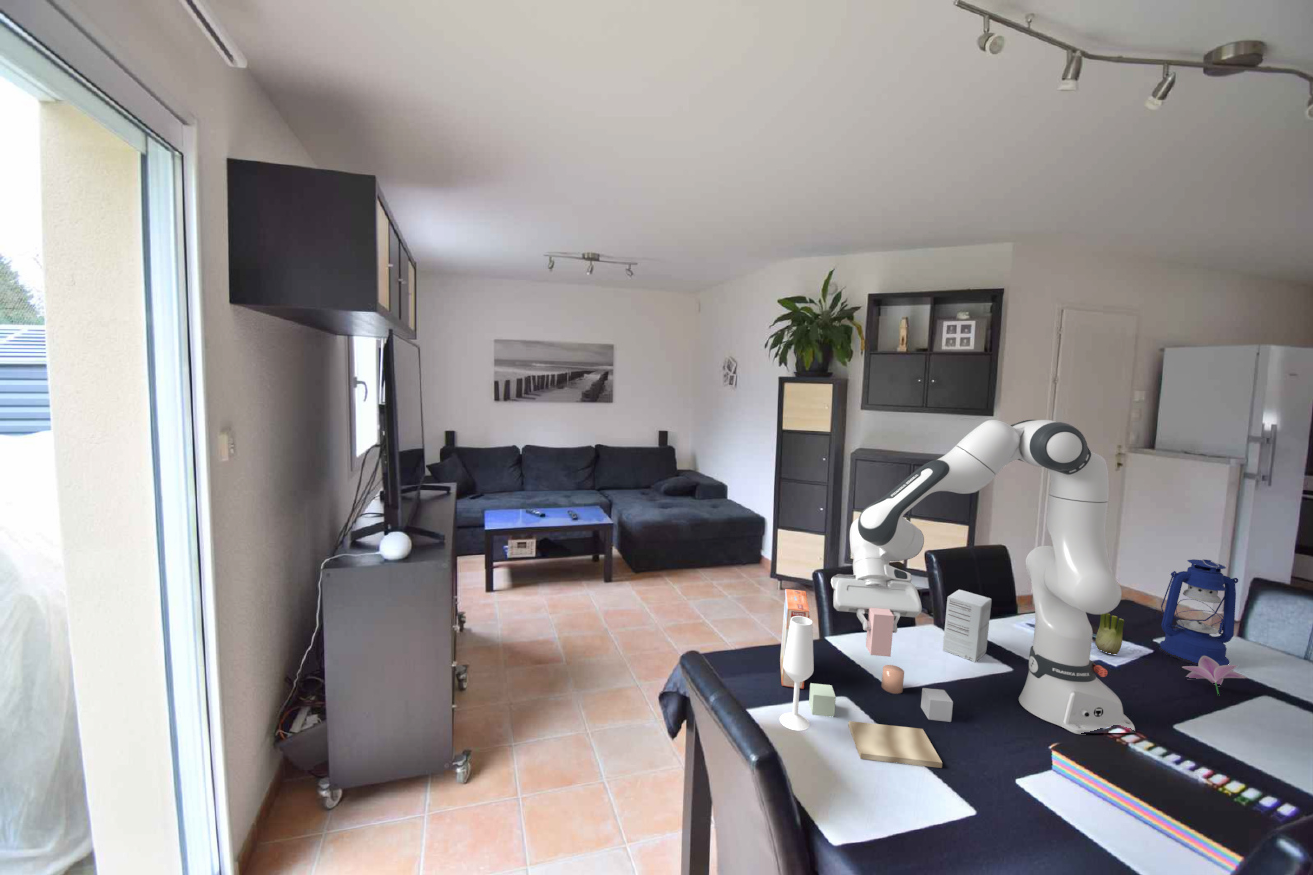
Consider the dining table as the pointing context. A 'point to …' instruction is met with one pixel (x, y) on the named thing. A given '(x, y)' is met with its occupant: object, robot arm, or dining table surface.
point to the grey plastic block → (936, 704)
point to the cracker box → (792, 607)
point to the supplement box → (967, 624)
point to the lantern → (1203, 587)
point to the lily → (1212, 671)
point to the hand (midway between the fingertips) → (880, 630)
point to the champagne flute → (798, 666)
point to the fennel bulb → (1109, 634)
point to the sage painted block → (822, 700)
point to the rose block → (880, 632)
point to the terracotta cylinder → (892, 679)
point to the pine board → (893, 744)
